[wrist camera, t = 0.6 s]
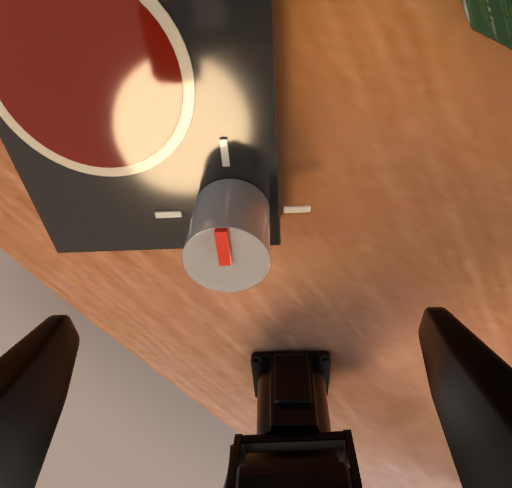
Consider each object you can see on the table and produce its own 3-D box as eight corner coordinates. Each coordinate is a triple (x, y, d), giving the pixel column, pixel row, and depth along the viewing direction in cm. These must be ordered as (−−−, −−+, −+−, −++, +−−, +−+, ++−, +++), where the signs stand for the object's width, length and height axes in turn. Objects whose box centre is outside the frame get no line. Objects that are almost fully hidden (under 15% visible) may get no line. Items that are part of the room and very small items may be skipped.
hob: (305, 238, 26) (309, 267, 24) (81, 246, 26) (66, 275, 24) (312, -108, 15) (318, -111, 13) (-61, -76, 16) (-110, -74, 14)
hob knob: (271, 239, 22) (272, 296, 19) (200, 242, 23) (189, 298, 19) (268, 176, 20) (268, 229, 17) (188, 179, 20) (172, 232, 17)
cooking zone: (209, 171, 20) (208, 172, 20) (28, 179, 20) (27, 181, 20) (172, -64, 14) (171, -63, 14) (-80, -43, 15) (-83, -43, 14)
